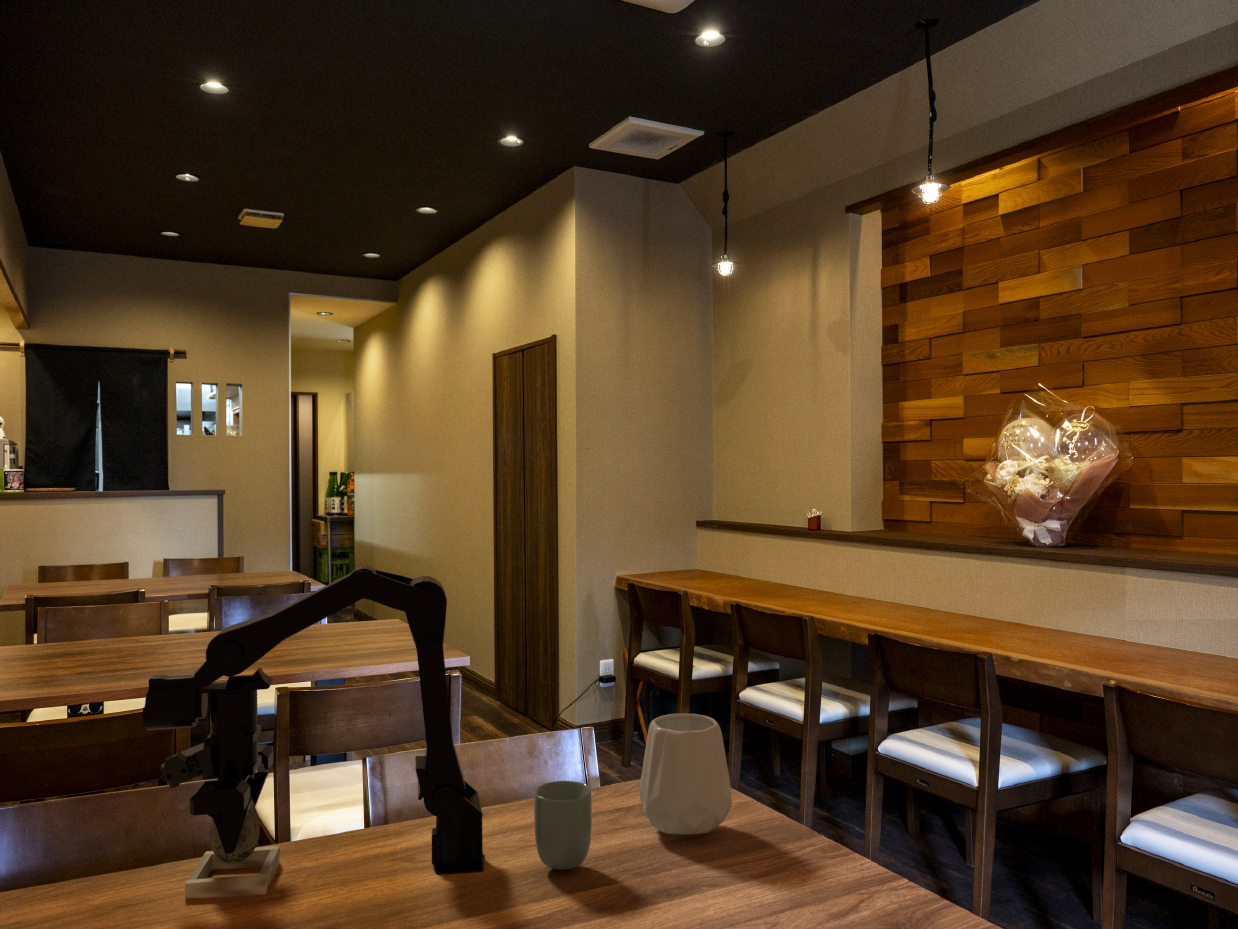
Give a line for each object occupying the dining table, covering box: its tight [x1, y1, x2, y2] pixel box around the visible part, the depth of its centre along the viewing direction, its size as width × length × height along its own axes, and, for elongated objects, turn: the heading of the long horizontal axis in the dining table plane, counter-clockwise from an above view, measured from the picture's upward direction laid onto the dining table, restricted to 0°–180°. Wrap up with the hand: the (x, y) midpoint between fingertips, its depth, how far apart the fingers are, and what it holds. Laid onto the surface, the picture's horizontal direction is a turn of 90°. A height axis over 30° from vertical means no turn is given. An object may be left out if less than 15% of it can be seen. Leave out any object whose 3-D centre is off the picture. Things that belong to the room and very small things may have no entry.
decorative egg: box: [209, 797, 261, 864], centre depth 118 cm, size 6×6×10 cm
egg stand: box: [184, 845, 281, 899], centre depth 118 cm, size 10×10×2 cm
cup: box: [533, 780, 593, 871], centre depth 123 cm, size 8×8×10 cm
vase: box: [639, 712, 733, 835], centre depth 137 cm, size 14×14×15 cm
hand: (235, 842), depth 118 cm, fingers closed on decorative egg, 6 cm apart
